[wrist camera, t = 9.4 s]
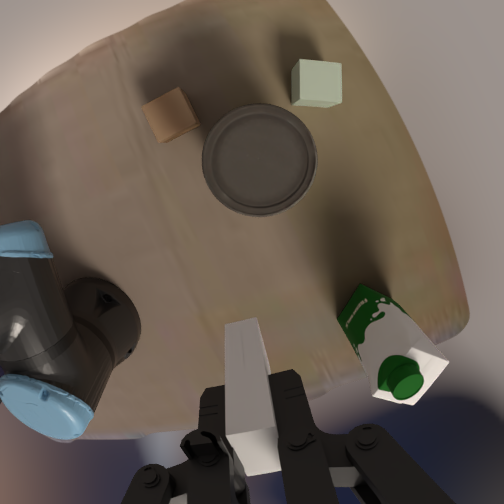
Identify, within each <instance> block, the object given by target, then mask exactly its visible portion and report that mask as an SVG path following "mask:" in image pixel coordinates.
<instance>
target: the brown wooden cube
mask: <svg viewBox="0 0 504 504" xmlns="http://www.w3.org/2000/svg"><path fill="white" fill-rule="evenodd" d="M142 110H143V112H144V114H145V116H146V118H147V120H148V122H149V124H150V126H151V128H152V130H153V133H154V135H155V137H156V139H157V141H158V142H163V143H167V142H169V141H171V140H173V139H175V138H177V137H179V136H181V135H182V134H184V133H186V132H188V131H190V130H192V129H194V128H196V127H198V126H200V125H201V124H200V122H199V120H198V118H197V116H196V114H195V112H194V110H193V108H192V106H191V104H190V102H189V100H188V98H187V96H186V94H185V92H184V91H183V90H182V89H181V88H179V87H177V88H175V89H173V90H171V91H169V92H167V93H165V94H164V95H162V96H160V97H158V98H156V99H154V100H153V101H151V102H149V103H147V104H145V105H144V106H142Z"/></svg>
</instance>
